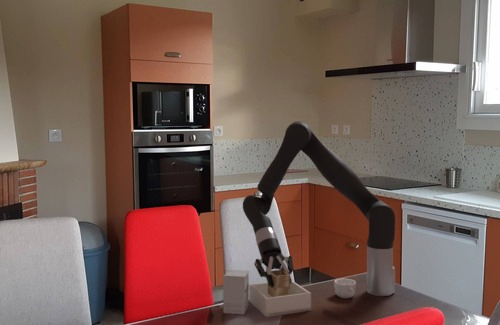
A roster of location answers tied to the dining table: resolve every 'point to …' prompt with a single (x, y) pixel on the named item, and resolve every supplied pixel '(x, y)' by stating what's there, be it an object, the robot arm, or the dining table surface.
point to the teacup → (345, 287)
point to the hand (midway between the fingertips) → (280, 285)
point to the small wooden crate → (279, 284)
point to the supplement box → (235, 292)
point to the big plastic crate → (279, 300)
